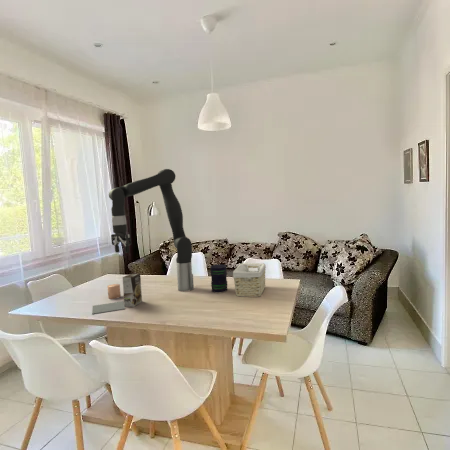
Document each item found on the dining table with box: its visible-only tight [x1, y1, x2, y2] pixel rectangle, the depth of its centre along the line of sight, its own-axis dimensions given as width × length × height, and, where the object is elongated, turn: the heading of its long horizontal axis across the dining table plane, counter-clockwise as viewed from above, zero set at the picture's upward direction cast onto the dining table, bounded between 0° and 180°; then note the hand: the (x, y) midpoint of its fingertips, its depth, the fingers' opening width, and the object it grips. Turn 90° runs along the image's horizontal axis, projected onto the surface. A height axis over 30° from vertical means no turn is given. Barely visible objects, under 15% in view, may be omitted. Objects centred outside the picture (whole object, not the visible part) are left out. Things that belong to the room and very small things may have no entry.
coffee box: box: [122, 273, 143, 308], centre depth 179 cm, size 9×6×16 cm
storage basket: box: [232, 262, 267, 298], centre depth 193 cm, size 24×16×15 cm
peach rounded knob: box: [106, 283, 122, 300], centre depth 195 cm, size 7×7×7 cm
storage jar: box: [210, 264, 228, 293], centre depth 199 cm, size 10×10×15 cm
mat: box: [91, 300, 126, 315], centre depth 175 cm, size 16×14×1 cm
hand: (122, 252), depth 184 cm, fingers open, 8 cm apart
